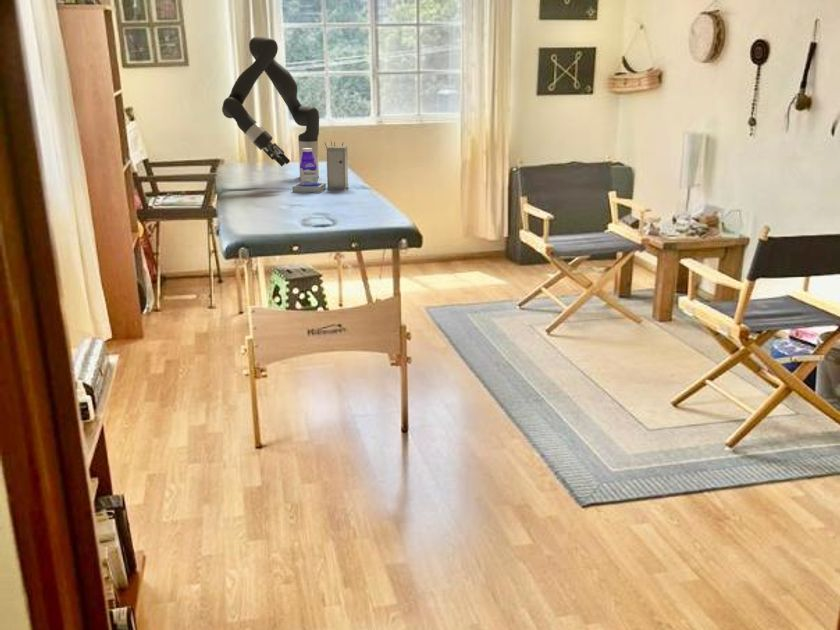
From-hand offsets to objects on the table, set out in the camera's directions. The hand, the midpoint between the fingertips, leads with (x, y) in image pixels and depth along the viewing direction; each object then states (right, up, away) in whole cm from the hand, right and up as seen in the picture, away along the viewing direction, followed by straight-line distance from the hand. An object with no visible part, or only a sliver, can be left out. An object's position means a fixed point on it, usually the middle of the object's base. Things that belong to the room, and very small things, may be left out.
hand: (286, 163), depth 348 cm
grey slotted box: (+21, -9, +9) cm, 25 cm away
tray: (+10, -11, +3) cm, 15 cm away
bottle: (+9, -11, +3) cm, 15 cm away
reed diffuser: (+20, -7, +17) cm, 27 cm away
